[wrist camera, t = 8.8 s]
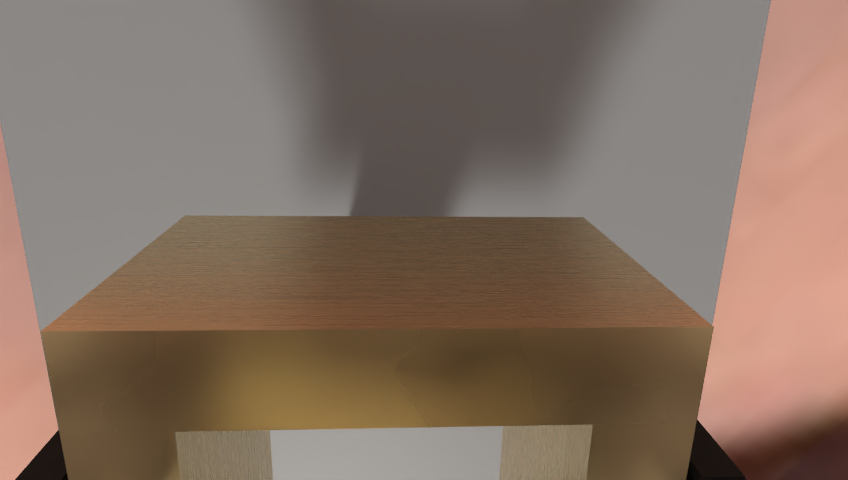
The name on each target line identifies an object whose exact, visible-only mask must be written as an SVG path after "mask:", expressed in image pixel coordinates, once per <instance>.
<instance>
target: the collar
mask: <svg viewBox="0 0 848 480" xmlns="http://www.w3.org/2000/svg"><path fill="white" fill-rule="evenodd" d="M713 328H714V327H713V326H712V325H711V324H710V323H709V322H707V321H706V320H705V319H704V318H703V317H701V316H700V315H699V314H698V313H697V312H696V311H694V310H693V309H692V308H691V307H690V306H688V305H687V304H686V303H685V302H684V301H682V300H681V299H680V298H679V297H678V296H677V295H675V294H674V293H673V292H672V291H671V290H669V289H668V288H667V287H666V286H665V285H663V284H662V283H661V282H660V281H659V280H658V279H656V278H655V277H654V276H653V275H652V274H650V273H649V272H648V271H647V270H646V269H644V268H643V267H642V266H641V265H640V264H639V263H637V262H636V261H635V260H634V259H633V258H631V257H630V256H629V255H628V254H627V253H625V252H624V251H623V250H622V249H621V248H620V247H618V246H617V245H616V244H615V243H614V242H612V241H611V240H610V239H609V238H608V237H606V236H605V235H604V234H603V233H602V232H601V231H599V230H598V229H597V228H596V227H595V226H593V225H592V224H591V223H590V222H589V221H587V220H586V219H585V218H584V217H420V216H189V215H185V216H184V217H182V218H181V219H180V220H179V221H177V222H176V223H175V224H174V225H172V226H171V227H170V228H169V229H167V230H166V231H165V232H164V233H162V234H161V235H160V236H159V237H158V238H156V239H155V240H154V241H153V242H151V243H150V244H149V245H148V246H146V247H145V248H144V249H143V250H141V251H140V252H139V253H138V254H136V255H135V256H134V257H133V258H131V259H130V260H129V261H128V262H126V263H125V264H124V265H123V266H121V267H120V268H119V269H118V270H116V271H115V272H114V273H113V274H111V275H110V276H109V277H108V278H106V279H105V280H104V281H103V282H101V283H100V284H99V285H98V286H96V287H95V288H94V289H93V290H91V291H90V292H89V293H88V294H87V295H85V296H84V297H83V298H82V299H80V300H79V301H78V302H77V303H75V304H74V305H73V306H72V307H70V308H69V309H68V310H67V311H65V312H64V313H63V314H62V315H60V316H59V317H58V318H57V319H55V320H54V321H53V322H52V323H50V324H49V325H48V326H47V327H45V328H44V329H43V330H42V331H40V332H41V337H42V343H43V348H44V353H45V359H46V364H47V369H48V375H49V380H50V385H51V391H52V396H53V401H54V406H55V412H56V417H57V422H58V428H59V433H60V438H61V444H62V449H63V454H64V459H65V465H66V470H67V475H68V480H273V471H272V456H271V441H270V430H306V429H365V428H423V427H481V426H503V434H502V449H501V463H500V478H499V480H686V477H687V472H688V466H689V461H690V455H691V449H692V444H693V438H694V433H695V427H696V422H697V416H698V411H699V405H700V400H701V394H702V389H703V383H704V377H705V372H706V366H707V361H708V355H709V350H710V344H711V339H712V333H713Z"/></svg>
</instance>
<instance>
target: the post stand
mask: <svg viewBox="0 0 848 480" xmlns="http://www.w3.org/2000/svg"><path fill="white" fill-rule="evenodd" d="M770 2H771V0H0V123H1V128H2V134H3V139H4V144H5V149H6V155H7V160H8V165H9V170H10V176H11V181H12V186H13V191H14V197H15V202H16V207H17V213H18V218H19V223H20V228H21V234H22V239H23V244H24V249H25V255H26V260H27V265H28V271H29V276H30V281H31V286H32V292H33V297H34V302H35V307H36V313H37V318H38V323H39V328H40V331H42V330H43V329H44V328H45V327H47V326H48V325H49V324H50V323H52V322H53V321H54V320H55V319H57V318H58V317H59V316H60V315H62V314H63V313H64V312H65V311H67V310H68V309H69V308H70V307H72V306H73V305H74V304H75V303H77V302H78V301H79V300H80V299H82V298H83V297H84V296H85V295H87V294H88V293H89V292H90V291H91V290H93V289H94V288H95V287H96V286H98V285H99V284H100V283H101V282H103V281H104V280H105V279H106V278H108V277H109V276H110V275H111V274H113V273H114V272H115V271H116V270H118V269H119V268H120V267H121V266H123V265H124V264H125V263H126V262H128V261H129V260H130V259H131V258H133V257H134V256H135V255H136V254H138V253H139V252H140V251H141V250H143V249H144V248H145V247H146V246H148V245H149V244H150V243H151V242H153V241H154V240H155V239H156V238H158V237H159V236H160V235H161V234H162V233H164V232H165V231H166V230H167V229H169V228H170V227H171V226H172V225H174V224H175V223H176V222H177V221H179V220H180V219H181V218H182V217H184V216H185V215H189V216H420V217H584V218H585V219H586V220H587V221H589V222H590V223H591V224H592V225H593V226H595V227H596V228H597V229H598V230H599V231H601V232H602V233H603V234H604V235H605V236H606V237H608V238H609V239H610V240H611V241H612V242H614V243H615V244H616V245H617V246H618V247H620V248H621V249H622V250H623V251H624V252H625V253H627V254H628V255H629V256H630V257H631V258H633V259H634V260H635V261H636V262H637V263H639V264H640V265H641V266H642V267H643V268H644V269H646V270H647V271H648V272H649V273H650V274H652V275H653V276H654V277H655V278H656V279H658V280H659V281H660V282H661V283H662V284H663V285H665V286H666V287H667V288H668V289H669V290H671V291H672V292H673V293H674V294H675V295H677V296H678V297H679V298H680V299H681V300H682V301H684V302H685V303H686V304H687V305H688V306H690V307H691V308H692V309H693V310H694V311H696V312H697V313H698V314H699V315H700V316H701V317H703V318H704V319H705V320H706V321H707V322H709V323H710V324H711V325H712V323H713V318H714V312H715V307H716V301H717V296H718V290H719V285H720V279H721V274H722V268H723V262H724V257H725V251H726V246H727V240H728V235H729V229H730V224H731V218H732V213H733V207H734V202H735V196H736V190H737V185H738V179H739V174H740V168H741V163H742V157H743V152H744V146H745V141H746V135H747V130H748V124H749V118H750V113H751V107H752V102H753V96H754V91H755V85H756V80H757V74H758V69H759V63H760V58H761V52H762V46H763V41H764V35H765V30H766V24H767V19H768V13H769V8H770ZM40 334H41V332H40ZM41 339H42V337H41ZM42 344H43V343H42ZM43 350H44V348H43ZM44 355H45V353H44ZM45 360H46V359H45ZM46 365H47V364H46ZM47 371H48V369H47ZM48 376H49V375H48ZM49 381H50V380H49ZM50 386H51V385H50ZM51 392H52V391H51ZM52 397H53V396H52ZM53 402H54V401H53ZM54 408H55V406H54ZM55 413H56V412H55ZM56 418H57V417H56ZM57 423H58V422H57ZM58 429H59V428H58ZM502 434H503V426H481V427H423V428H365V429H306V430H270V441H271V456H272V471H273V480H499V478H500V463H501V449H502Z"/></svg>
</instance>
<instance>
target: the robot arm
mask: <svg viewBox="0 0 848 480" xmlns="http://www.w3.org/2000/svg"><path fill="white" fill-rule="evenodd" d="M15 480H68V475H67V470H66V465H65V459H64V454H63V449H62V444H61V438H60V433H59V430H58V431H57V432H56V434H55V435H54V436H53V437H52V438H51V439H50V440H49V442H48V443H47V444H46V445H45V446H44V447H43V448H42V450H41V451H40V452H39V453H38V454H37V455H36V456H35V458H34V459H33V460H32V461H31V462H30V463H29V464H28V466H27V467H26V468H25V469H24V470H23V471H22V473H21V474H20V475H19V476H18V477H17V478H16V479H15ZM686 480H746V479H745V476H744V475H743V473H742V472H741V471H740V470H739V469H738V467H737V466H736V465H735V464H734V463H733V462H732V460H731V459H730V458H729V457H728V456H727V454H726V453H725V452H724V451H723V450H722V448H721V447H720V446H719V445H718V444H717V443H716V441H715V440H714V439H713V438H712V437H711V435H710V434H709V433H708V432H707V431H706V429H705V428H704V427H703V426H702V425H701V423H700V422H699V421H698V420H697V422H696V427H695V433H694V438H693V444H692V449H691V455H690V461H689V466H688V472H687V477H686Z"/></svg>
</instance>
